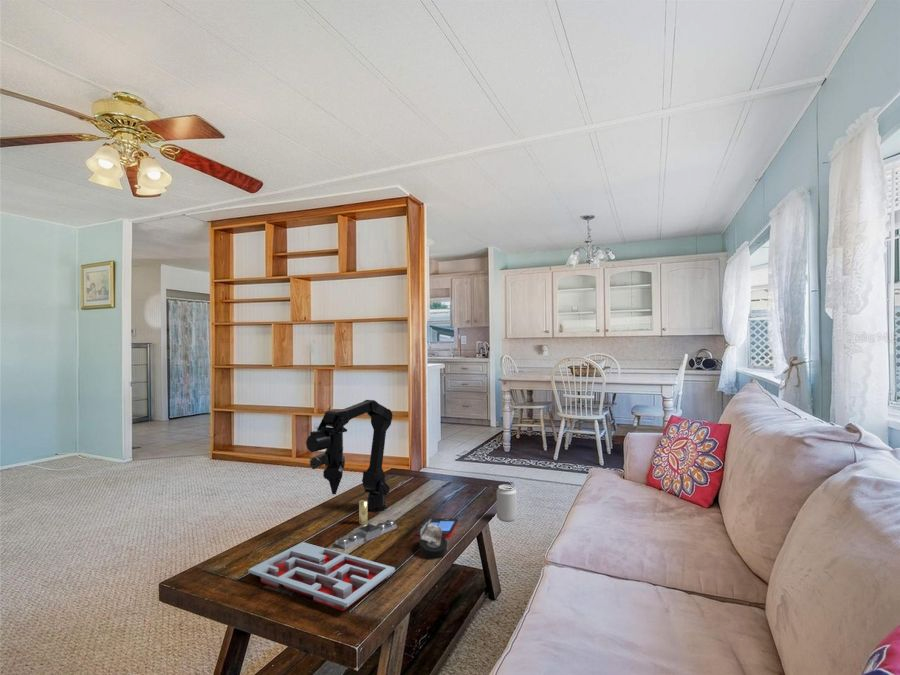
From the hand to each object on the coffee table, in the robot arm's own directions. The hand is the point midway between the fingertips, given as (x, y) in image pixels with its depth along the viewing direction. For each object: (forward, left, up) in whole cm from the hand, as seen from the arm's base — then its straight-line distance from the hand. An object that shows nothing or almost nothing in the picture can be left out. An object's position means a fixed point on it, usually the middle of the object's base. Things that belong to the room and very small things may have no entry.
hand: (335, 489), depth 157 cm
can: (-47, +42, -13) cm, 64 cm away
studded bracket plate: (-3, +15, -13) cm, 20 cm away
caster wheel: (-10, +39, -13) cm, 43 cm away
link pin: (-9, +5, -13) cm, 16 cm away
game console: (-23, +29, -14) cm, 39 cm away
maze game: (+23, +28, -14) cm, 39 cm away
